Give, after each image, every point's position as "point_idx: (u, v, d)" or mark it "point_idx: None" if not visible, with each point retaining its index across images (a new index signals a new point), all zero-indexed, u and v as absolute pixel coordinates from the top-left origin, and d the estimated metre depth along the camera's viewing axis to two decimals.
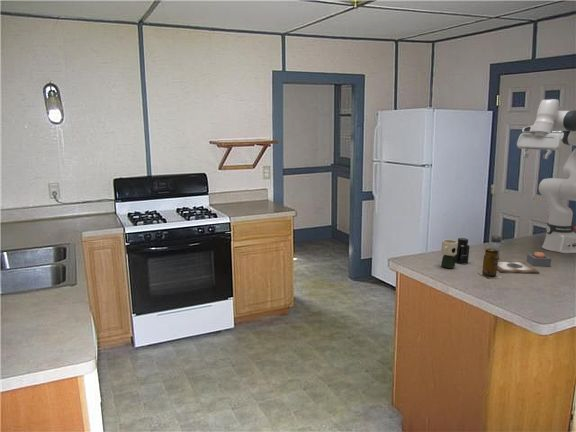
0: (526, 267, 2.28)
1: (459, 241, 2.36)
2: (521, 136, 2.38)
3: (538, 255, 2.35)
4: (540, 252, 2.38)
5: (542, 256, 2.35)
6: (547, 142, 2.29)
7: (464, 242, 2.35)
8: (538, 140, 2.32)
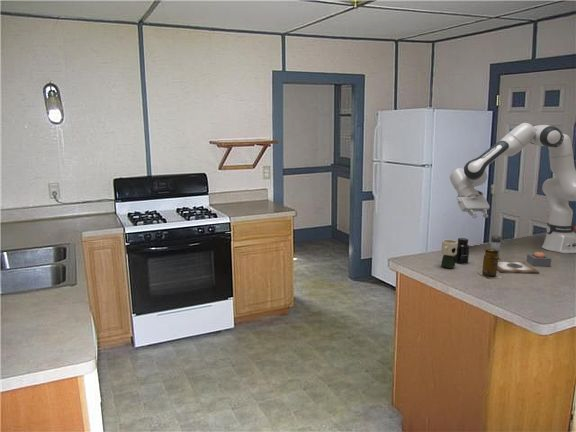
0: (526, 267, 2.28)
1: (459, 241, 2.36)
2: None
3: (538, 255, 2.35)
4: (540, 252, 2.38)
5: (542, 256, 2.35)
6: None
7: (464, 242, 2.35)
8: None
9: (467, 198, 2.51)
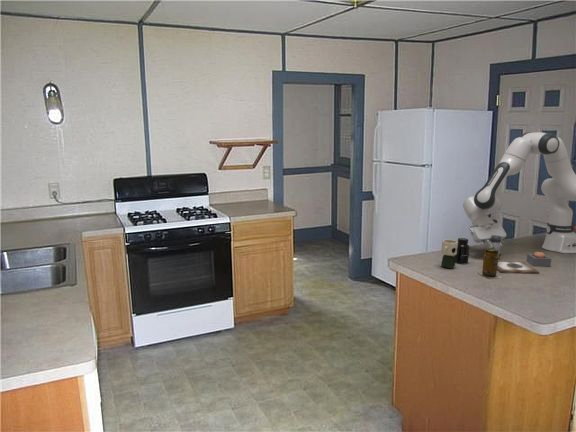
0: (526, 267, 2.28)
1: (459, 241, 2.36)
2: None
3: (538, 255, 2.35)
4: (540, 252, 2.38)
5: (542, 256, 2.35)
6: None
7: (464, 242, 2.35)
8: None
9: (480, 228, 2.45)
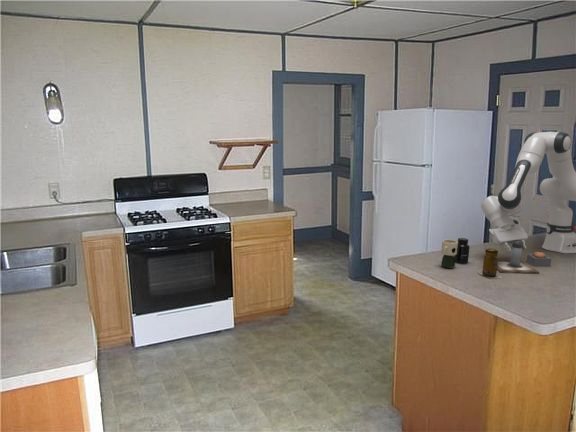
0: (526, 267, 2.28)
1: (459, 241, 2.36)
2: None
3: (538, 255, 2.35)
4: (540, 252, 2.38)
5: (542, 256, 2.35)
6: None
7: (464, 242, 2.35)
8: None
9: (501, 230, 2.30)
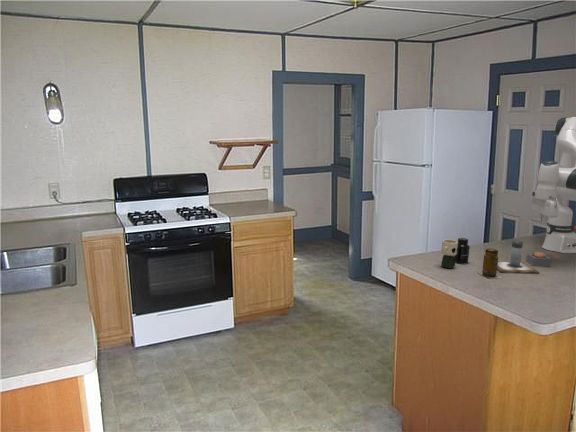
0: (526, 267, 2.28)
1: (459, 241, 2.36)
2: (532, 200, 2.40)
3: (538, 255, 2.35)
4: (540, 252, 2.38)
5: (542, 256, 2.35)
6: (545, 209, 2.28)
7: (464, 242, 2.35)
8: (541, 206, 2.32)
9: None
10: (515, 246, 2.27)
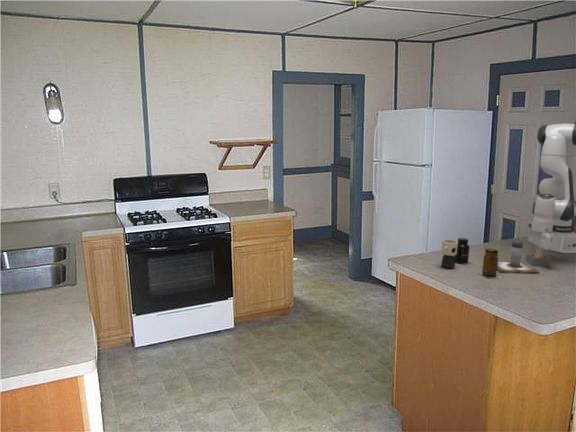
0: (526, 267, 2.28)
1: (459, 241, 2.36)
2: (529, 231, 2.43)
3: (538, 257, 2.35)
4: None
5: None
6: (541, 242, 2.31)
7: (464, 242, 2.35)
8: (537, 238, 2.35)
9: None
10: (515, 246, 2.27)
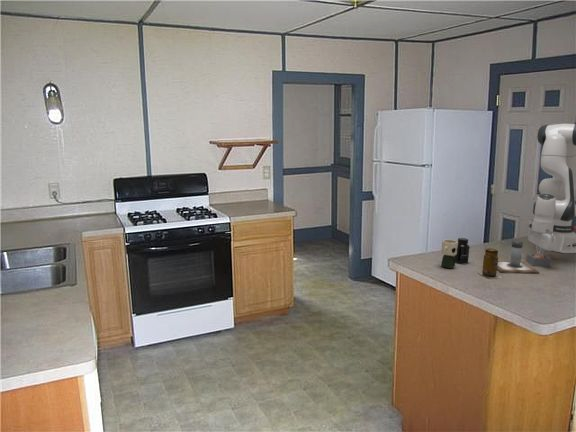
0: (526, 267, 2.28)
1: (459, 241, 2.36)
2: (529, 231, 2.43)
3: (538, 257, 2.35)
4: None
5: None
6: (542, 242, 2.31)
7: (464, 242, 2.35)
8: (538, 238, 2.35)
9: None
10: (515, 246, 2.27)
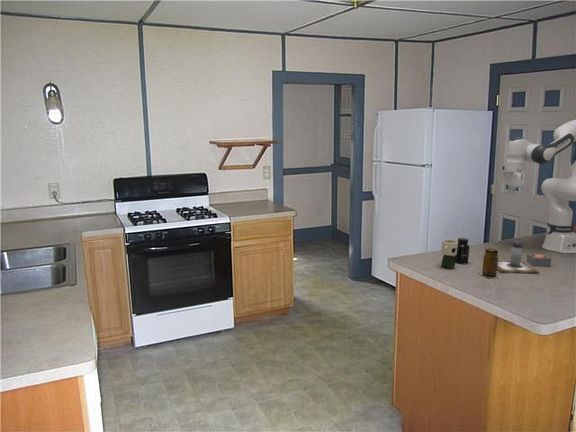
0: (526, 267, 2.28)
1: (459, 241, 2.36)
2: (502, 173, 2.62)
3: (538, 257, 2.35)
4: None
5: None
6: (513, 181, 2.50)
7: (464, 242, 2.35)
8: (509, 178, 2.54)
9: None
10: (515, 246, 2.27)
